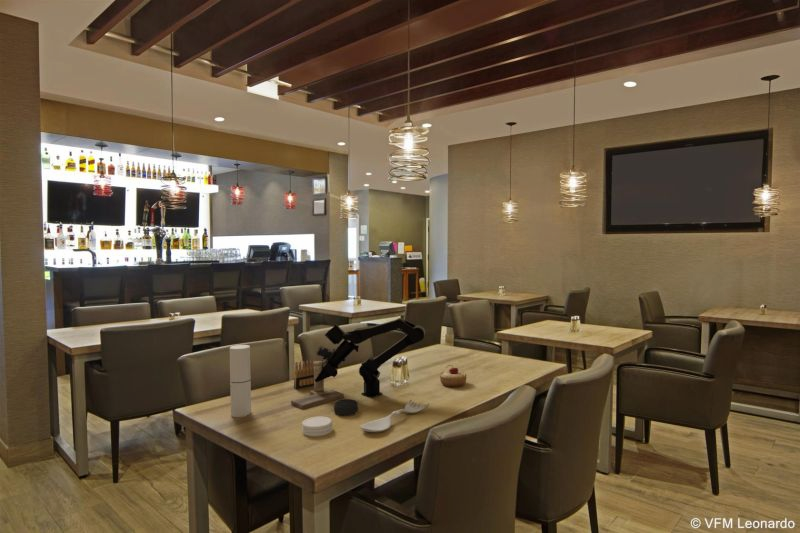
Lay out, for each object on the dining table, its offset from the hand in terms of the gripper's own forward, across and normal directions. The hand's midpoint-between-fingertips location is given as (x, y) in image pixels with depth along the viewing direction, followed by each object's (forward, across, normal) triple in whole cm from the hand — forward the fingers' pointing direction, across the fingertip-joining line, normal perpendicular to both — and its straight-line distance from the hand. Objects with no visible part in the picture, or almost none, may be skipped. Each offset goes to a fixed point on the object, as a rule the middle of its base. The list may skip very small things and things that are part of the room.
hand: (315, 380), depth 197 cm
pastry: (-38, -5, +48) cm, 61 cm away
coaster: (+5, +39, +5) cm, 39 cm away
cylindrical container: (+24, +16, -15) cm, 33 cm away
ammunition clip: (+8, -13, +2) cm, 15 cm away
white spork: (-14, +34, +24) cm, 45 cm away
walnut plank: (+4, +8, +5) cm, 10 cm away
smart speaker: (-3, +22, +13) cm, 26 cm away
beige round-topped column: (+4, 0, +5) cm, 6 cm away
